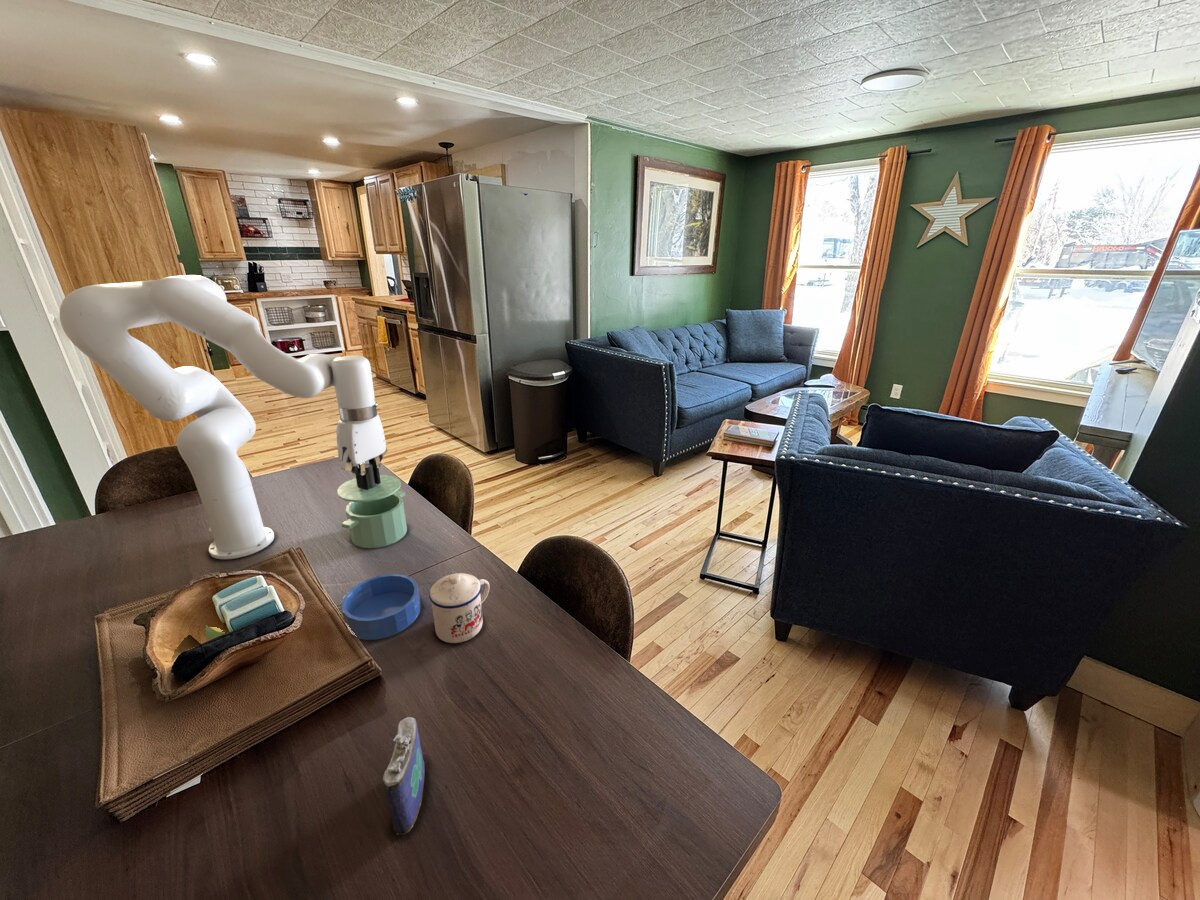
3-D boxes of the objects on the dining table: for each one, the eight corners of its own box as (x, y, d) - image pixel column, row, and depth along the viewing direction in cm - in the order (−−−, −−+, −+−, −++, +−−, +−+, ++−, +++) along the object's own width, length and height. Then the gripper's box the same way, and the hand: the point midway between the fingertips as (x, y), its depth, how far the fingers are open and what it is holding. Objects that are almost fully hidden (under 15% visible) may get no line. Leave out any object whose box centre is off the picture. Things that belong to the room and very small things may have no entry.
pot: (330, 547, 112) (323, 516, 109) (386, 512, 128) (382, 484, 125) (372, 559, 108) (366, 527, 105) (424, 521, 124) (421, 493, 121)
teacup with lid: (454, 653, 83) (448, 600, 79) (424, 629, 88) (416, 578, 84) (505, 615, 92) (502, 566, 88) (475, 596, 97) (470, 548, 93)
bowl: (329, 628, 88) (324, 608, 87) (382, 585, 100) (379, 567, 98) (385, 648, 84) (382, 628, 82) (434, 601, 96) (432, 583, 94)
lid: (323, 497, 109) (318, 471, 107) (369, 474, 121) (366, 450, 119) (370, 509, 105) (366, 482, 103) (413, 484, 117) (410, 460, 115)
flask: (407, 762, 65) (397, 706, 61) (429, 759, 66) (421, 704, 62) (390, 837, 57) (376, 779, 53) (415, 834, 57) (404, 775, 53)
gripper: (372, 401, 114) (382, 470, 121) (314, 419, 100) (328, 496, 107) (397, 405, 112) (406, 475, 119) (341, 425, 98) (354, 503, 105)
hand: (369, 485), depth 113 cm, fingers closed on lid, 2 cm apart
